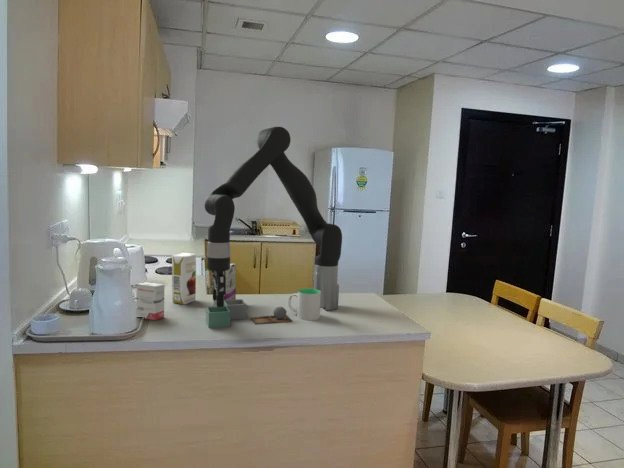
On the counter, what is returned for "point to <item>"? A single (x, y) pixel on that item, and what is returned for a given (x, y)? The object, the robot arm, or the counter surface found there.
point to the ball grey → (279, 313)
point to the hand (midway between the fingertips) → (218, 303)
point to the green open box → (217, 317)
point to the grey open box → (236, 308)
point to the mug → (307, 304)
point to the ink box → (150, 300)
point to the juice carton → (183, 278)
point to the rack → (269, 319)
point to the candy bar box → (229, 284)
